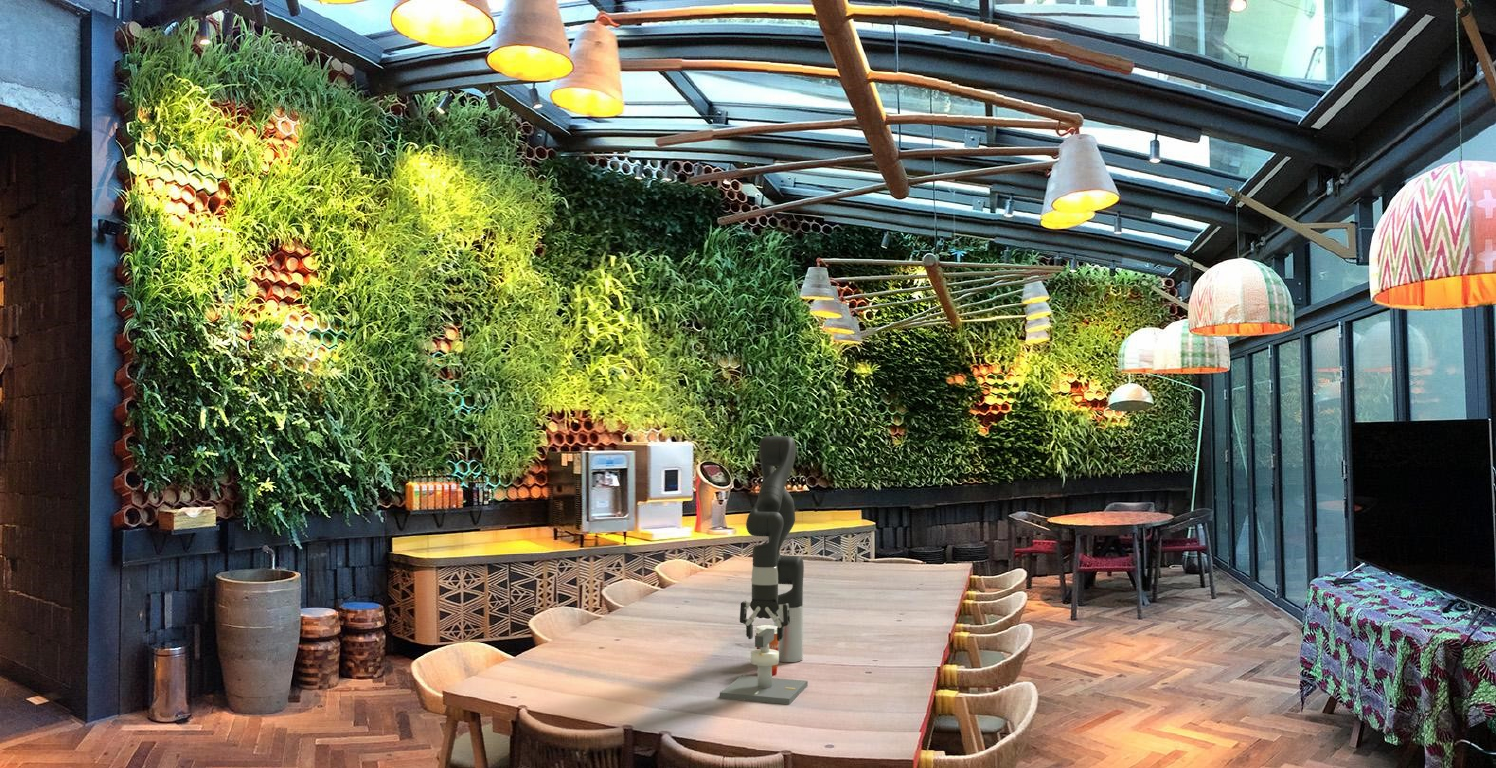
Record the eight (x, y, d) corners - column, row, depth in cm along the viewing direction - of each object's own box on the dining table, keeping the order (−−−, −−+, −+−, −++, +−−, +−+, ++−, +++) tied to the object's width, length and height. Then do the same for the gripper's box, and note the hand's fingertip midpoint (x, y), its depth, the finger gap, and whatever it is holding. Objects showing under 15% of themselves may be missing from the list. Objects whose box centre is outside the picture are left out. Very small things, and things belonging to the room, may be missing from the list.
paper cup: (758, 677, 296) (759, 630, 297) (752, 671, 304) (752, 625, 304) (783, 676, 298) (783, 629, 299) (776, 670, 306) (776, 624, 306)
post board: (742, 680, 293) (742, 653, 293) (807, 686, 287) (807, 658, 287) (719, 698, 274) (719, 668, 274) (789, 704, 268) (789, 674, 268)
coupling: (756, 657, 287) (757, 627, 288) (783, 659, 285) (783, 629, 285) (745, 666, 277) (745, 635, 277) (772, 668, 274) (772, 637, 275)
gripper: (792, 581, 283) (792, 638, 282) (745, 579, 287) (744, 635, 287) (785, 585, 276) (785, 644, 275) (737, 582, 280) (736, 640, 280)
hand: (764, 639), depth 281 cm, fingers open, 8 cm apart
